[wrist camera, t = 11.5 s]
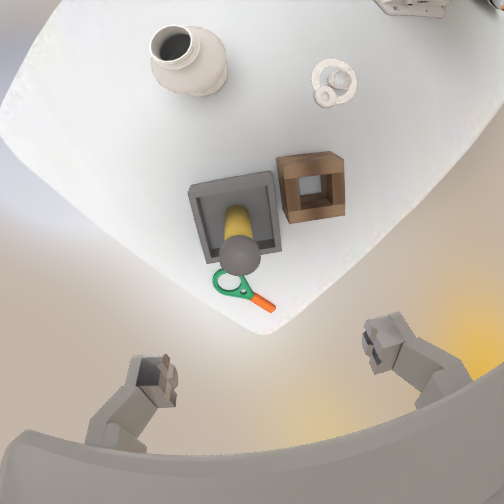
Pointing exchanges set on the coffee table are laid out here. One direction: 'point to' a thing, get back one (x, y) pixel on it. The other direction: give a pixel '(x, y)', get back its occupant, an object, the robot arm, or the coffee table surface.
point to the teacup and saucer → (346, 80)
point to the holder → (318, 203)
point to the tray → (236, 193)
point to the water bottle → (188, 60)
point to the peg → (238, 243)
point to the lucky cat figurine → (496, 4)
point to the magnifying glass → (246, 295)
